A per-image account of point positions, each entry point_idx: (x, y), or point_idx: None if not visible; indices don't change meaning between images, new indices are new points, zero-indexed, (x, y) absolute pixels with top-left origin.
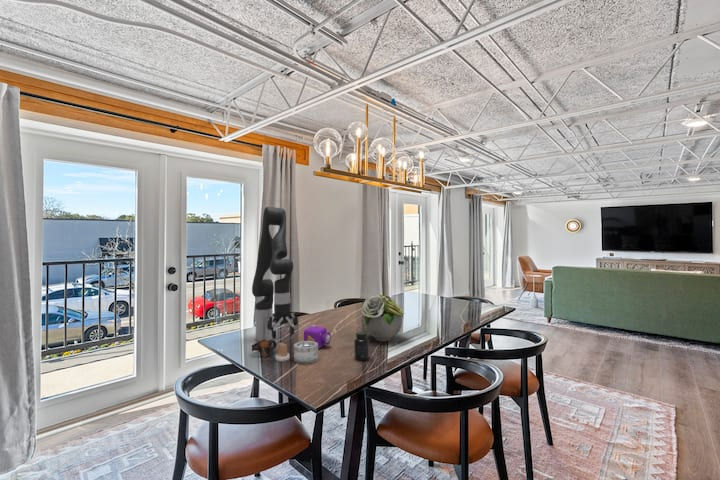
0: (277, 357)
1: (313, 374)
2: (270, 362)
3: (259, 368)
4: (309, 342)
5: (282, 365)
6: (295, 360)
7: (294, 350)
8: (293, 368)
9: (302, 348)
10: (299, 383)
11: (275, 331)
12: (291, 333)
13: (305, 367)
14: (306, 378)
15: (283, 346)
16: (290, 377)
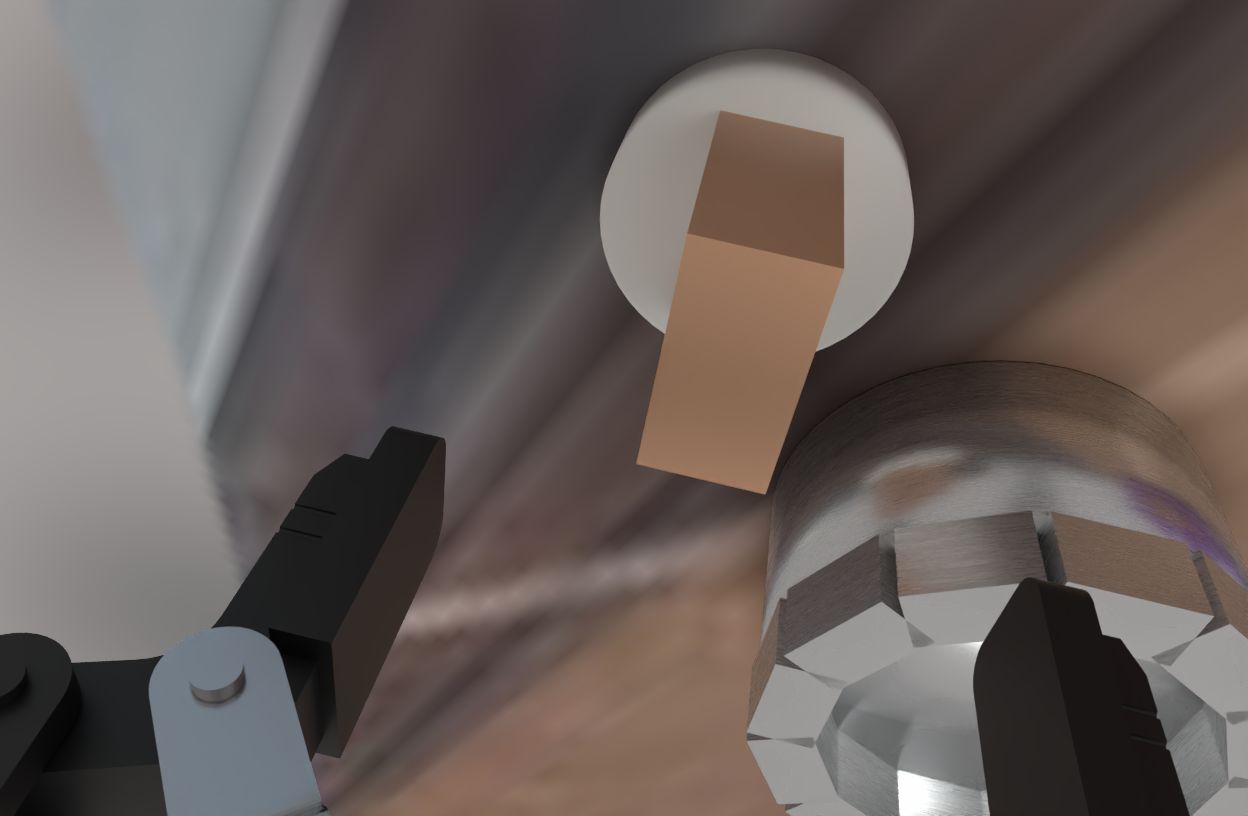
0: (603, 243)
1: (661, 791)
2: (477, 172)
3: (223, 251)
4: (1223, 724)
5: (561, 422)
6: (774, 509)
7: (771, 617)
8: (610, 586)
9: (799, 798)
10: (443, 792)
11: (328, 735)
12: (985, 706)
13: (738, 663)
14: (551, 788)
15: (671, 461)
16: (443, 690)
